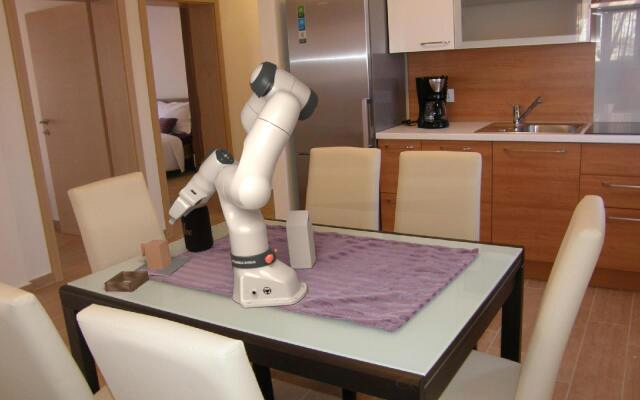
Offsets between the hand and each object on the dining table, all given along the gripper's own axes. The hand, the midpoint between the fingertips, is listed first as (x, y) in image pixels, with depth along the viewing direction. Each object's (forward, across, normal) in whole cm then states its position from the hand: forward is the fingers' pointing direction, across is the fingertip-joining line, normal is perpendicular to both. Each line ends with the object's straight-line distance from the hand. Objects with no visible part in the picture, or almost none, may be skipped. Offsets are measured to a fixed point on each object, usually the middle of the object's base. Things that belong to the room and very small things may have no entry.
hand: (177, 218), depth 199 cm
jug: (+21, 0, +4) cm, 21 cm away
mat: (+20, 0, +5) cm, 21 cm away
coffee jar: (+16, -20, +10) cm, 28 cm away
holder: (+22, +16, +3) cm, 27 cm away
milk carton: (-17, -2, +43) cm, 46 cm away
